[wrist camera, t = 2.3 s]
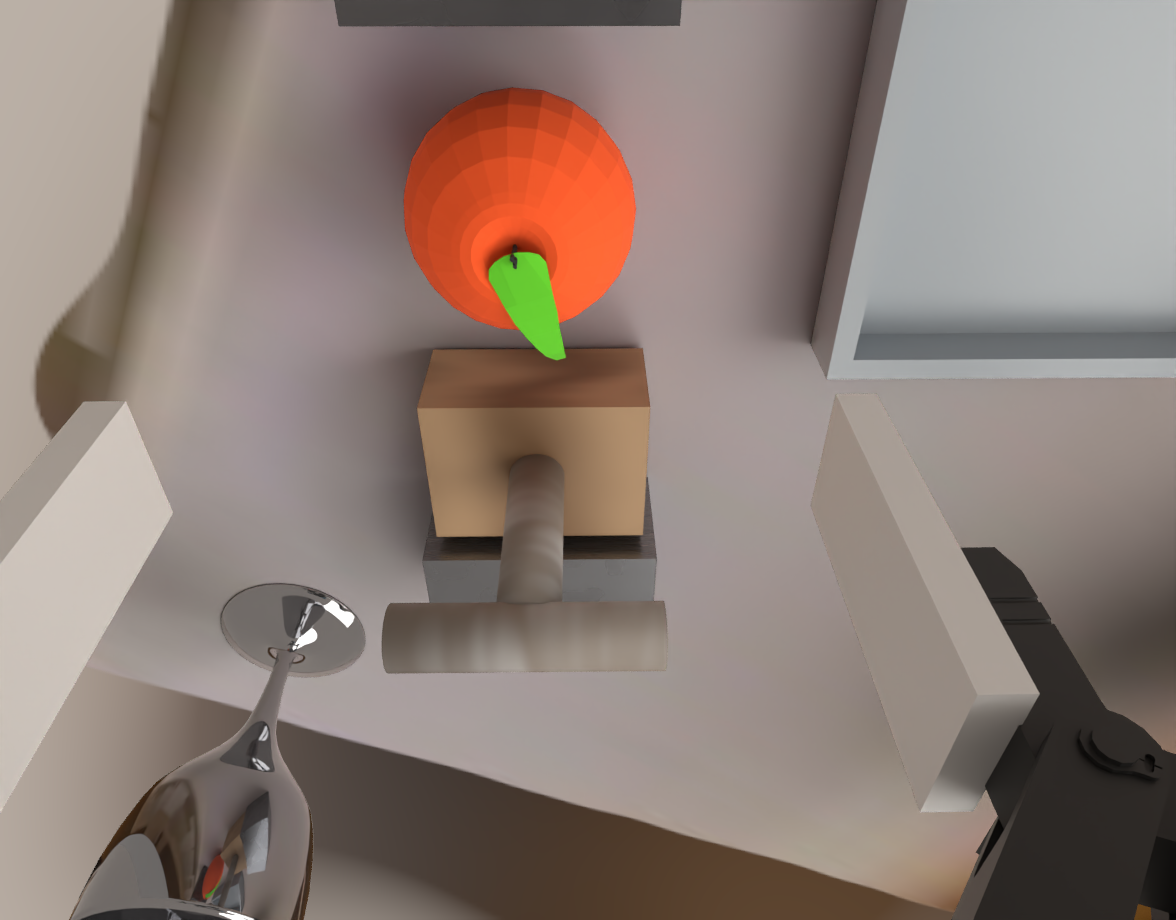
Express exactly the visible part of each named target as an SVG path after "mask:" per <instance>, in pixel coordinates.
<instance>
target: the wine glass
mask: <svg viewBox="0 0 1176 920" xmlns="http://www.w3.org/2000/svg"><path fill="white" fill-rule="evenodd" d="M221 625H222V630H223V633H224V635H225V638H226V640H227V641H228V643H229V644H230V645H231V646H232V648H233V649H234V650H235V651H236V652H237V653H239V654H240V655H241V656H242V657H244V658H245V659H246V660H248V661H249V662H251V663H253V664H255V665H257V666H259V667H261V668H263V669H266V670H268V671H271V675H270V677H269V680H268V683H267V685H266V687H265V689H264V691H263V693H262V695H261V697H260V699H259V701H258V703H257V705H256V707H255V709H254V710H253V712H252V714H251V716H250V718H249V720H248V721H247V722H246V724H245V725H244V726H243V728H242V729H241V730H240V731H239V732H237V734H235V735H234V736H233V737H232V738H231V739H229V740H228V741H226V742H225V743H224V744H222V745H221V746H219V747H217V748H215V749H213V750H211V751H209V752H207V753H205V754H203V755H201V756H199V757H197V758H195V759H193V760H191V761H189V762H187V763H185V764H183V765H181V766H179V767H177V768H176V769H174V770H173V771H171V772H170V773H168V774H167V775H165V776H164V777H162V778H161V779H160V780H158V781H157V782H156V783H155V784H154V785H153V786H152V787H151V788H150V789H149V790H148V791H147V792H146V793H145V794H144V795H143V797H142V798H141V799H140V800H139V802H138V803H137V804H136V806H135V807H134V808H133V809H132V811H131V812H130V813H129V815H128V816H127V817H126V819H125V820H124V821H123V823H122V824H121V825H120V827H119V828H118V830H117V831H116V833H115V834H114V836H113V838H112V839H111V841H110V842H109V844H108V845H107V847H106V849H105V850H104V852H103V853H102V855H101V856H100V858H99V860H98V862H97V864H96V866H95V868H94V870H93V871H92V873H91V875H90V877H89V879H88V881H87V883H86V885H85V887H84V889H83V891H82V892H81V895H80V897H79V899H78V901H77V903H76V905H75V908H74V910H73V912H72V914H71V916H70V919H69V920H304V916H305V911H306V907H307V902H308V897H309V892H310V882H311V872H312V863H313V827H312V818H311V811H310V809H309V806H308V804H307V802H306V799H305V797H304V795H303V793H302V791H301V789H300V787H299V786H298V784H297V782H296V781H295V779H294V778H293V776H292V774H291V773H290V771H289V769H288V768H287V766H286V764H285V762H284V761H283V759H282V757H281V754H280V751H279V749H278V745H277V740H276V724H277V718H278V712H279V707H280V702H281V697H282V693H283V689H284V685H285V682H286V679H287V676H293V677H320V676H327V675H331V674H334V673H338V672H340V671H342V670H344V669H346V668H348V667H349V666H351V665H352V664H353V663H354V662H355V661H356V660H357V659H358V658H359V657H360V656H361V654H362V652H363V650H364V646H365V633H364V629H363V626H362V624H361V623H360V621H359V619H358V618H357V617H356V616H355V614H354V613H353V612H352V611H351V610H350V609H349V608H348V607H346V606H345V605H344V604H343V603H341V602H340V601H338V600H336V599H335V598H333V597H331V596H329V595H327V594H325V593H322V592H320V591H317V590H314V589H311V588H308V587H303V586H298V585H290V584H267V585H261V586H256V587H253V588H249V589H246V590H244V591H242V592H240V593H239V594H237V595H235V596H234V597H233V598H232V599H231V600H230V601H229V602H228V603H227V605H226V606H225V607H224V610H223V613H222V616H221Z"/></svg>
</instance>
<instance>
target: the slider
mask: <svg viewBox="0 0 1176 920" xmlns="http://www.w3.org/2000/svg"><path fill="white" fill-rule="evenodd" d="M564 351H565V354H566V358H563V359H560V360H554V359H552V358H549V357H546V356H545V355H544V354H543V353H541V352H540V351H539V350H538V349H456V350H433V352H432V356H431V359H430V363H429V367H428V370H427V374H426V377H425V381H424V385H423V388H422V392H421V395H420V399H419V403H418V406H417V412H418V419H419V425H420V432H421V438H422V445H423V451H424V457H425V464H426V470H427V477H428V483H429V490H430V496H431V502H432V509H433V515H434V522H435V528H436V535H437V537H476V536H503V543H502V552H501V562H500V571H499V581H498V591H497V600H496V602H480V603H390V604H389V605H388V607H387V610H386V613H385V617H384V622H383V630H382V659H383V665H384V669H385V671H386V672H387V673H488V672H596V671H666V667H667V653H668V637H667V618H666V609H665V604H664V601H598V602H562V579H563V536H606V535H643V524H644V507H645V489H646V472H647V454H648V437H649V419H650V402H649V394H648V386H647V378H646V371H645V363H644V355H643V348H637V349H564Z"/></svg>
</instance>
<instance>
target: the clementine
mask: <svg viewBox="0 0 1176 920" xmlns="http://www.w3.org/2000/svg"><path fill="white" fill-rule="evenodd" d="M635 213H636V206H635V198H634V191H633V184H632V178H631V176H630V174H629V171H628V169H627V167H626V164H625V162H624V160H623V157H622V155H621V153H620V150H619V149H618V147H617V146H616V144H615V143H614V142H613V140H612V139H611V138H610V137H609V135H608V134H607V133H606V132H605V130H604V129H603V128H602V126H601V125H600V124H599V123H598V121H597V120H596V119H594V118H593V117H592V116H590V115H589V114H588V113H586V112H585V111H584V110H582V109H581V108H580V107H578V106H577V105H576V104H574V103H573V102H571V101H569V100H566V99H564V98H561V97H559V96H556V95H553V94H551V93H548V92H546V91H543V90H534V89H523V88H513V87H512V88H506V89H501V90H496V91H490V92H485V93H481V94H479V95H477V96H475V97H473V98H472V99H470V100H468V101H466V102H464V103H462V104H460V105H458V106H456V107H454V108H453V109H452V110H450V111H449V112H448V113H447V114H446V115H445V116H444V117H443V118H442V119H441V120H440V121H439V122H438V123H437V124H436V125H435V126H434V127H432V128H431V129H430V130H429V131H428V132H427V133H426V135H425V137H424V139H423V141H422V142H421V144H420V146H419V148H418V149H417V151H416V153H415V155H414V156H413V158H412V160H411V165H410V169H409V173H408V178H407V182H406V186H405V193H404V217H405V231H406V234H407V237H408V241H409V244H410V247H411V250H412V253H413V256H414V259H415V260H416V262H417V263H418V265H419V267H420V268H421V270H422V271H423V273H424V275H425V276H426V278H427V279H428V281H429V282H430V284H431V285H432V286H433V288H434V289H435V290H436V291H437V292H438V293H439V294H440V295H441V296H442V297H443V298H445V299H446V300H447V301H448V302H449V303H450V304H451V305H452V306H453V307H454V308H456V309H457V310H459V311H461V312H462V313H464V314H466V315H467V316H469V317H471V318H472V319H474V320H476V321H479V322H482V323H485V324H488V325H491V326H495V327H498V328H501V329H514V330H520V331H521V332H522V333H523V334H524V336H525V337H526V338H527V339H528V340H529V341H530V342H531V343H532V344H533V345H534V346H535V347H536V348H537V349H538V350H539V351H540V352H541V353H543V354H544V355H545V356H546V357H549V358H552V359H554V360H560V359H563V358H566V354H565V351H564V346H563V341H562V337H561V332H560V327H559V323H561V322H563V321H566V320H568V319H571V318H573V317H575V316H576V315H578V314H579V313H581V312H582V311H583V310H585V309H586V308H587V307H589V306H590V305H591V304H593V303H594V302H595V301H597V300H598V299H599V298H601V297H602V296H603V295H604V293H605V292H606V291H607V290H608V288H609V287H610V286H611V284H612V283H613V282H614V281H615V279H616V278H617V277H618V276H619V274H620V272H621V269H622V267H623V264H624V262H625V260H626V257H627V255H628V253H629V250H630V247H631V241H632V236H633V228H634V220H635Z"/></svg>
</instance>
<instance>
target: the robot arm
mask: <svg viewBox="0 0 1176 920" xmlns="http://www.w3.org/2000/svg"><path fill="white" fill-rule="evenodd" d="M811 508H812V511H813V513H814V516H815V519H816V522H817V525H818V527H819V530H820V533H821V536H822V539H823V541H824V544H825V547H826V550H827V553H828V555H829V558H830V561H831V564H832V567H833V570H834V572H835V575H836V578H837V581H838V584H839V586H840V589H841V592H842V595H843V598H844V600H845V603H846V606H847V609H848V612H849V614H850V617H851V620H852V623H853V626H854V628H855V631H856V634H857V637H858V640H859V642H860V645H861V648H862V651H863V654H864V656H865V659H866V662H867V665H868V668H869V670H870V673H871V676H872V679H873V682H874V685H875V687H876V690H877V693H878V696H879V699H880V701H881V704H882V707H883V710H884V713H885V715H886V718H887V721H888V724H889V727H890V729H891V732H892V735H893V738H894V741H895V743H896V746H897V749H898V752H899V755H900V757H901V760H902V763H903V766H904V769H905V771H906V774H907V777H908V780H909V783H910V785H911V788H912V791H913V794H914V797H915V800H916V802H917V805H918V808H919V811H920V812H967V811H974V809H975V808H976V806H977V804H978V802H979V800H980V799H981V797H982V795H983V793H984V792H985V790H987V792H988V794H989V797H990V799H991V801H992V804H993V806H994V808H995V810H996V813H997V815H998V817H997V818H996V820H995V822H994V823H993V825H992V827H991V828H990V830H989V832H988V833H987V835H986V837H985V838H984V840H983V841H982V843H981V845H980V846H979V848H978V850H977V851H976V853H978V854H979V857H978V859H977V862H976V864H975V866H974V869H973V871H972V873H971V875H970V878H969V880H968V882H967V885H966V887H965V889H964V892H963V894H962V896H961V899H960V901H959V903H958V905H957V908H956V910H955V912H954V915H953V917H952V919H951V920H1134V917H1135V913H1136V909H1137V906H1138V904H1141V905H1144V906H1148V907H1151V915H1152V920H1176V754H1173V753H1170V752H1167V751H1165V750H1162V748H1161V746H1160V745H1159V744H1158V743H1157V742H1156V741H1155V740H1154V739H1153V738H1152V737H1151V736H1150V735H1149V734H1148V733H1147V732H1146V731H1145V730H1144V729H1143V728H1142V727H1140V726H1138V725H1137V724H1135V723H1134V722H1132V721H1131V720H1129V719H1128V718H1126V717H1124V716H1123V715H1120V714H1117V713H1114V712H1112V711H1109V710H1107V709H1106V707H1105V706H1104V705H1103V703H1102V702H1101V700H1100V699H1099V697H1098V695H1097V694H1096V692H1095V690H1094V689H1093V687H1092V686H1091V684H1090V682H1089V681H1088V679H1087V677H1086V676H1085V674H1084V672H1083V671H1082V669H1081V667H1080V666H1079V664H1078V663H1077V661H1076V659H1075V658H1074V656H1073V654H1072V653H1071V651H1070V649H1069V648H1068V646H1067V644H1066V643H1065V641H1064V640H1063V638H1062V636H1061V635H1060V633H1059V631H1058V630H1057V628H1056V626H1055V625H1054V624H1051V621H1050V620H1051V618H1050V617H1049V615H1048V613H1047V612H1046V610H1045V608H1044V607H1043V605H1042V603H1041V602H1038V601H1037V598H1038V597H1037V595H1036V594H1035V592H1034V590H1033V589H1032V587H1031V585H1030V584H1029V582H1028V580H1027V579H1026V577H1025V575H1024V574H1023V572H1022V571H1021V570H1020V569H1019V568H1018V567H1017V566H1016V565H1014V564H1013V563H1012V562H1011V561H1010V560H1009V559H1007V558H1006V557H1005V556H1004V555H1003V554H1002V553H1000V552H999V551H998V550H997V549H996V548H995V547H981V548H960V546H959V544H958V542H957V541H956V539H955V537H954V535H953V533H952V531H951V530H950V528H949V526H948V524H947V522H946V520H945V519H944V517H943V515H942V513H941V511H940V509H939V507H938V506H937V504H936V502H935V500H934V498H933V496H932V495H931V493H930V491H929V489H928V487H927V485H926V484H925V482H924V480H923V478H922V476H921V474H920V473H919V471H918V469H917V467H916V465H915V463H914V461H913V460H912V458H911V456H910V454H909V452H908V450H907V449H906V447H905V445H904V443H903V441H902V439H901V438H900V436H899V434H898V432H897V430H896V428H895V427H894V425H893V423H892V421H891V419H890V417H889V415H888V414H887V412H886V410H885V408H884V406H883V404H882V403H881V401H880V399H879V397H878V395H877V394H836V395H835V400H834V404H833V409H832V413H831V417H830V422H829V426H828V431H827V435H826V440H825V444H824V448H823V453H822V457H821V462H820V466H819V470H818V475H817V479H816V484H815V488H814V493H813V497H812V501H811ZM172 514H173V511H172V509H171V507H170V504H169V502H168V500H167V497H166V495H165V493H164V490H163V488H162V485H161V483H160V481H159V478H158V476H157V474H156V471H155V469H154V467H153V464H152V462H151V459H150V457H149V455H148V452H147V450H146V448H145V445H144V443H143V441H142V438H141V436H140V433H139V431H138V429H137V426H136V424H135V422H134V419H133V417H132V415H131V412H130V410H129V407H128V405H127V403H126V401H101V402H83V403H82V404H81V406H80V407H79V408H78V409H77V410H76V412H75V413H74V414H73V415H72V416H71V418H70V419H69V420H68V421H67V422H66V423H65V425H64V426H63V427H62V428H61V429H60V431H59V432H58V433H57V434H56V435H55V436H54V438H53V439H52V440H51V441H50V442H49V444H48V445H47V446H46V447H45V448H44V450H43V451H42V452H41V453H40V454H39V455H38V457H37V458H36V459H35V460H34V461H33V463H32V464H31V465H30V466H29V467H28V469H27V470H26V471H25V472H24V474H22V476H21V477H20V478H19V479H18V481H17V482H16V483H15V484H14V485H13V487H11V489H10V490H9V491H8V492H7V494H6V495H5V496H4V497H3V498H2V499H1V501H0V813H1V811H2V809H3V807H4V805H5V804H6V802H7V801H8V799H9V797H10V795H11V794H12V792H13V790H14V788H15V787H16V785H17V783H18V782H19V780H20V778H21V776H22V775H23V773H24V771H25V769H26V768H27V766H28V764H29V762H30V761H31V759H32V757H33V756H34V754H35V752H36V750H37V749H38V747H39V745H40V743H41V742H42V740H43V738H44V736H45V734H46V733H47V731H48V730H49V728H50V726H51V724H52V723H53V721H54V719H55V717H56V715H57V714H58V712H59V710H60V709H61V707H62V705H63V703H64V702H65V700H66V698H67V696H68V695H69V693H70V691H71V690H72V688H73V686H74V684H75V682H76V681H77V679H78V677H79V676H80V674H81V672H82V670H83V669H84V667H85V665H86V664H87V662H88V660H89V658H90V657H91V655H92V653H93V651H94V650H95V648H96V646H97V644H98V643H99V641H100V639H101V638H102V636H103V634H104V632H105V631H106V629H107V627H108V625H109V624H110V622H111V620H112V618H113V617H114V615H115V613H116V612H117V610H118V608H119V606H120V605H121V603H122V601H123V599H124V598H125V596H126V594H127V592H128V591H129V589H130V587H131V586H132V584H133V582H134V580H135V579H136V577H137V575H138V573H139V572H140V570H141V568H142V566H143V565H144V563H145V561H146V559H147V558H148V556H149V554H150V553H151V551H152V549H153V547H154V546H155V544H156V542H157V540H158V539H159V537H160V535H161V533H162V532H163V530H164V528H165V527H166V525H167V523H168V521H169V520H170V518H171V516H172Z"/></svg>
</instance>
